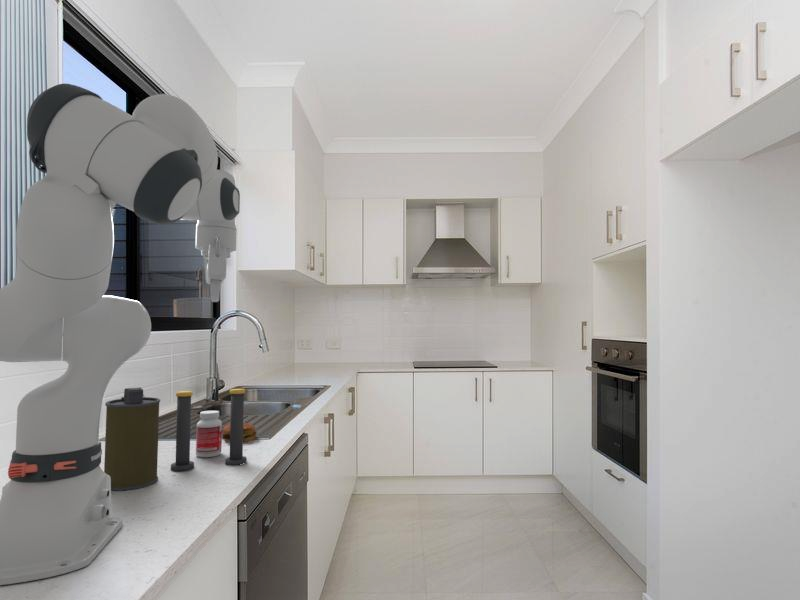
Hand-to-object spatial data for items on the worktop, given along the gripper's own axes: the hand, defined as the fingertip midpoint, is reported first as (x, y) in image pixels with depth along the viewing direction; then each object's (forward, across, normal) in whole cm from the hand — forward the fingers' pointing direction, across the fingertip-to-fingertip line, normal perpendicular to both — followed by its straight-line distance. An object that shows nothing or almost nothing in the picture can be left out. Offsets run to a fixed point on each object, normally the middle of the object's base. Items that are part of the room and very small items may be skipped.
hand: (214, 301), depth 113 cm
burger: (+40, +31, -9) cm, 51 cm away
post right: (+39, +7, -6) cm, 40 cm away
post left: (+39, +7, +6) cm, 40 cm away
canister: (+39, 0, +16) cm, 42 cm away
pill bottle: (+39, +17, 0) cm, 43 cm away
